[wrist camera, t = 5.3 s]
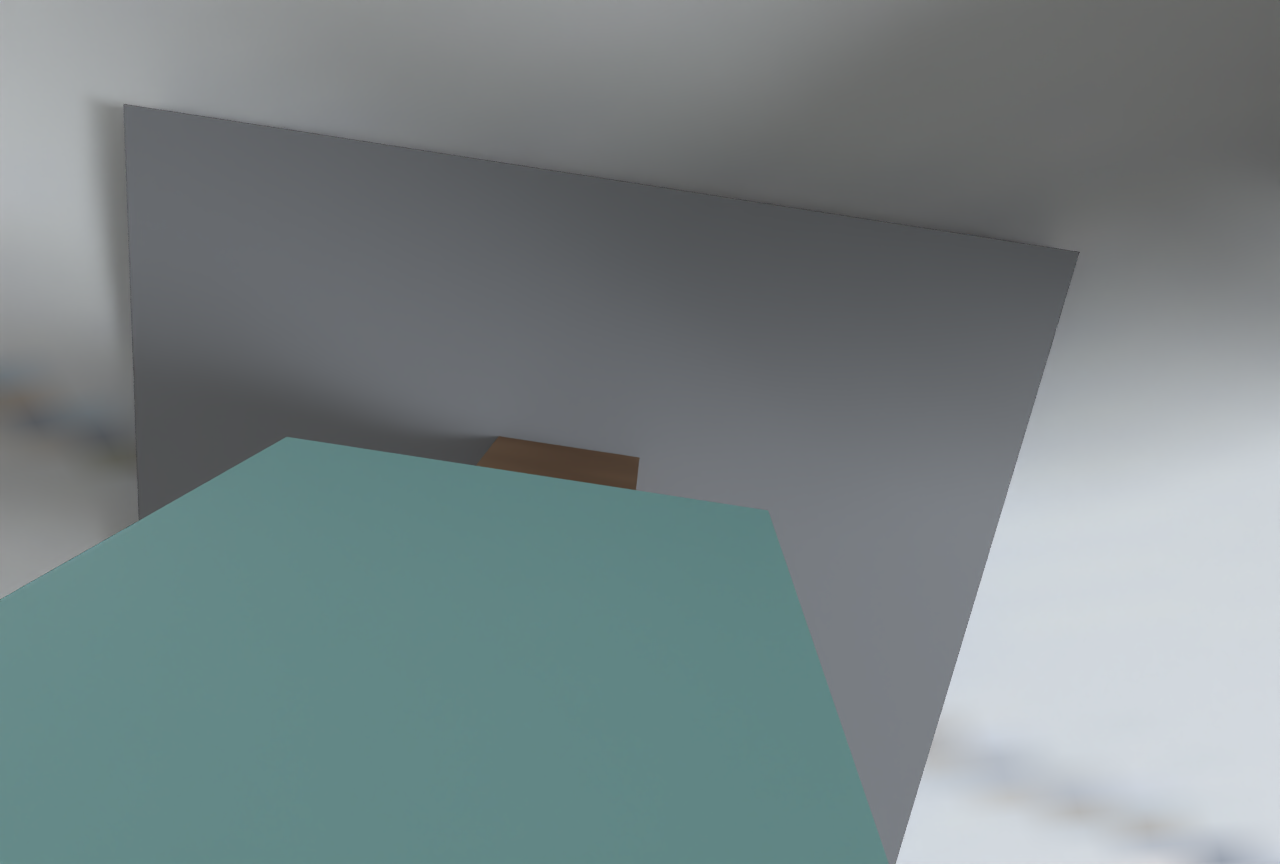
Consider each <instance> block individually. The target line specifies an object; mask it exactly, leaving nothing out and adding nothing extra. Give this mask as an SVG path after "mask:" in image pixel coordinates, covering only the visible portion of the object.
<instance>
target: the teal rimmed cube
mask: <svg viewBox="0 0 1280 864" xmlns="http://www.w3.org/2000/svg"><path fill="white" fill-rule="evenodd" d="M0 864H889V863H888V860H887V857H886V854H885V851H884V848H883V845H882V842H881V839H880V836H879V833H878V830H877V827H876V825H875V822H874V819H873V816H872V813H871V810H870V807H869V804H868V801H867V798H866V795H865V792H864V789H863V787H862V784H861V781H860V778H859V775H858V772H857V769H856V766H855V763H854V760H853V757H852V754H851V751H850V748H849V746H848V743H847V740H846V737H845V734H844V731H843V728H842V725H841V722H840V719H839V716H838V713H837V710H836V708H835V705H834V702H833V699H832V696H831V693H830V690H829V687H828V684H827V681H826V678H825V675H824V672H823V669H822V667H821V664H820V661H819V658H818V655H817V652H816V649H815V646H814V643H813V640H812V637H811V634H810V631H809V629H808V626H807V623H806V620H805V617H804V614H803V611H802V608H801V605H800V602H799V599H798V596H797V593H796V590H795V588H794V585H793V582H792V579H791V576H790V573H789V570H788V567H787V564H786V561H785V558H784V555H783V552H782V550H781V547H780V544H779V541H778V538H777V535H776V532H775V529H774V526H773V523H772V520H771V517H770V514H769V511H768V510H762V509H755V508H749V507H742V506H736V505H729V504H723V503H716V502H709V501H703V500H696V499H690V498H683V497H677V496H670V495H664V494H657V493H651V492H644V491H638V490H631V489H625V488H618V487H611V486H605V485H598V484H592V483H585V482H579V481H572V480H566V479H559V478H553V477H546V476H540V475H533V474H527V473H520V472H513V471H507V470H500V469H494V468H487V467H481V466H474V465H468V464H461V463H455V462H448V461H442V460H435V459H429V458H422V457H415V456H409V455H402V454H396V453H389V452H383V451H376V450H370V449H363V448H357V447H350V446H344V445H337V444H331V443H324V442H317V441H311V440H304V439H298V438H291V437H285V438H284V439H282V440H280V441H278V442H277V443H275V444H273V445H271V446H270V447H268V448H266V449H264V450H263V451H261V452H259V453H257V454H255V455H254V456H252V457H250V458H248V459H247V460H245V461H243V462H241V463H240V464H238V465H236V466H234V467H233V468H231V469H229V470H227V471H226V472H224V473H222V474H220V475H219V476H217V477H215V478H213V479H211V480H210V481H208V482H206V483H204V484H203V485H201V486H199V487H197V488H196V489H194V490H192V491H190V492H189V493H187V494H185V495H183V496H182V497H180V498H178V499H176V500H175V501H173V502H171V503H169V504H167V505H166V506H164V507H162V508H160V509H159V510H157V511H155V512H153V513H152V514H150V515H148V516H146V517H145V518H143V519H141V520H139V521H138V522H136V523H134V524H132V525H131V526H129V527H127V528H125V529H123V530H122V531H120V532H118V533H116V534H115V535H113V536H111V537H109V538H108V539H106V540H104V541H102V542H101V543H99V544H97V545H95V546H94V547H92V548H90V549H88V550H87V551H85V552H83V553H81V554H79V555H78V556H76V557H74V558H72V559H71V560H69V561H67V562H65V563H64V564H62V565H60V566H58V567H57V568H55V569H53V570H51V571H50V572H48V573H46V574H44V575H43V576H41V577H39V578H37V579H35V580H34V581H32V582H30V583H28V584H27V585H25V586H23V587H21V588H20V589H18V590H16V591H14V592H13V593H11V594H9V595H7V596H6V597H4V598H2V599H0Z"/></svg>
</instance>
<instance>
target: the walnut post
mask: <svg viewBox="0 0 1280 864" xmlns="http://www.w3.org/2000/svg"><path fill="white" fill-rule="evenodd" d="M639 459H640V458H639V457H633V456H626V455H620V454H613V453H607V452H600V451H593V450H587V449H580V448H574V447H567V446H561V445H554V444H547V443H541V442H534V441H528V440H521V439H515V438H508V437H501V436H498V438H497V439H496V440H495V442H494V443H493V444H492V445H491V447H490V448H489V449H488V451H487V452H486V453H485V454H484V456H483V457H482V458H481V460H480V461H479V462H478V463H477V465H476V466H481V467H487V468H494V469H500V470H507V471H513V472H520V473H527V474H533V475H540V476H546V477H553V478H559V479H566V480H572V481H579V482H585V483H592V484H598V485H605V486H611V487H618V488H625V489H631V490H636V486H637V477H638V468H639Z"/></svg>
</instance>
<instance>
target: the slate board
mask: <svg viewBox="0 0 1280 864" xmlns="http://www.w3.org/2000/svg"><path fill="white" fill-rule="evenodd" d="M124 127H125V154H126V181H127V208H128V235H129V263H130V290H131V317H132V344H133V371H134V399H135V426H136V453H137V480H138V507H139V520H141V519H143V518H145V517H146V516H148V515H150V514H152V513H153V512H155V511H157V510H159V509H160V508H162V507H164V506H166V505H167V504H169V503H171V502H173V501H175V500H176V499H178V498H180V497H182V496H183V495H185V494H187V493H189V492H190V491H192V490H194V489H196V488H197V487H199V486H201V485H203V484H204V483H206V482H208V481H210V480H211V479H213V478H215V477H217V476H219V475H220V474H222V473H224V472H226V471H227V470H229V469H231V468H233V467H234V466H236V465H238V464H240V463H241V462H243V461H245V460H247V459H248V458H250V457H252V456H254V455H255V454H257V453H259V452H261V451H263V450H264V449H266V448H268V447H270V446H271V445H273V444H275V443H277V442H278V441H280V440H282V439H284V438H285V437H291V438H298V439H304V440H311V441H317V442H324V443H331V444H337V445H344V446H350V447H357V448H363V449H370V450H376V451H383V452H389V453H396V454H402V455H409V456H415V457H422V458H429V459H435V460H442V461H448V462H455V463H461V464H468V465H474V466H476V465H477V463H478V462H479V461H480V460H481V458H482V457H483V456H484V454H485V453H486V452H487V451H488V449H489V448H490V447H491V445H492V444H493V443H494V442H495V440H496V439H497V438H498V436H501V437H508V438H515V439H521V440H528V441H534V442H541V443H547V444H554V445H561V446H567V447H574V448H580V449H587V450H593V451H600V452H607V453H613V454H620V455H626V456H633V457H639V458H640V459H639V468H638V477H637V486H636V490H638V491H644V492H651V493H657V494H664V495H670V496H677V497H683V498H690V499H696V500H703V501H709V502H716V503H723V504H729V505H736V506H742V507H749V508H755V509H762V510H768V511H769V514H770V517H771V520H772V523H773V526H774V529H775V532H776V535H777V538H778V541H779V544H780V547H781V550H782V552H783V555H784V558H785V561H786V564H787V567H788V570H789V573H790V576H791V579H792V582H793V585H794V588H795V590H796V593H797V596H798V599H799V602H800V605H801V608H802V611H803V614H804V617H805V620H806V623H807V626H808V629H809V631H810V634H811V637H812V640H813V643H814V646H815V649H816V652H817V655H818V658H819V661H820V664H821V667H822V669H823V672H824V675H825V678H826V681H827V684H828V687H829V690H830V693H831V696H832V699H833V702H834V705H835V708H836V710H837V713H838V716H839V719H840V722H841V725H842V728H843V731H844V734H845V737H846V740H847V743H848V746H849V748H850V751H851V754H852V757H853V760H854V763H855V766H856V769H857V772H858V775H859V778H860V781H861V784H862V787H863V789H864V792H865V795H866V798H867V801H868V804H869V807H870V810H871V813H872V816H873V819H874V822H875V825H876V827H877V830H878V833H879V836H880V839H881V842H882V845H883V848H884V851H885V854H886V857H887V860H888V863H889V864H896V860H897V857H898V854H899V850H900V847H901V844H902V840H903V837H904V834H905V830H906V827H907V824H908V820H909V817H910V814H911V810H912V807H913V804H914V800H915V797H916V794H917V790H918V787H919V784H920V781H921V777H922V774H923V771H924V767H925V764H926V761H927V757H928V754H929V751H930V747H931V744H932V741H933V737H934V734H935V731H936V727H937V724H938V721H939V717H940V714H941V711H942V707H943V704H944V701H945V697H946V694H947V691H948V687H949V684H950V681H951V677H952V674H953V671H954V667H955V664H956V661H957V657H958V654H959V651H960V647H961V644H962V641H963V637H964V634H965V631H966V628H967V624H968V621H969V618H970V614H971V611H972V608H973V604H974V601H975V598H976V594H977V591H978V588H979V584H980V581H981V578H982V574H983V571H984V568H985V564H986V561H987V558H988V554H989V551H990V548H991V544H992V541H993V538H994V534H995V531H996V528H997V524H998V521H999V518H1000V514H1001V511H1002V508H1003V504H1004V501H1005V498H1006V494H1007V491H1008V488H1009V484H1010V481H1011V478H1012V474H1013V471H1014V468H1015V465H1016V461H1017V458H1018V455H1019V451H1020V448H1021V445H1022V441H1023V438H1024V435H1025V431H1026V428H1027V425H1028V421H1029V418H1030V415H1031V411H1032V408H1033V405H1034V401H1035V398H1036V395H1037V391H1038V388H1039V385H1040V381H1041V378H1042V375H1043V371H1044V368H1045V365H1046V361H1047V358H1048V355H1049V351H1050V348H1051V345H1052V341H1053V338H1054V335H1055V331H1056V328H1057V325H1058V321H1059V318H1060V315H1061V311H1062V308H1063V305H1064V302H1065V298H1066V295H1067V292H1068V288H1069V285H1070V282H1071V278H1072V275H1073V272H1074V268H1075V265H1076V262H1077V258H1078V255H1079V252H1076V251H1070V250H1063V249H1057V248H1050V247H1044V246H1038V245H1031V244H1025V243H1018V242H1012V241H1005V240H999V239H992V238H986V237H979V236H973V235H966V234H960V233H954V232H947V231H941V230H934V229H928V228H921V227H915V226H908V225H902V224H895V223H889V222H882V221H876V220H870V219H863V218H857V217H850V216H844V215H837V214H831V213H824V212H818V211H811V210H805V209H798V208H792V207H786V206H779V205H773V204H766V203H760V202H753V201H747V200H740V199H734V198H727V197H721V196H715V195H708V194H702V193H695V192H689V191H682V190H676V189H669V188H663V187H656V186H650V185H643V184H637V183H631V182H624V181H618V180H611V179H605V178H598V177H592V176H585V175H579V174H572V173H566V172H559V171H553V170H547V169H540V168H534V167H527V166H521V165H514V164H508V163H501V162H495V161H488V160H482V159H475V158H469V157H463V156H456V155H450V154H443V153H437V152H430V151H424V150H417V149H411V148H404V147H398V146H392V145H385V144H379V143H372V142H366V141H359V140H353V139H346V138H340V137H333V136H327V135H320V134H314V133H308V132H301V131H295V130H288V129H282V128H275V127H269V126H262V125H256V124H249V123H243V122H236V121H230V120H224V119H217V118H211V117H204V116H198V115H191V114H185V113H178V112H172V111H165V110H159V109H152V108H146V107H140V106H133V105H127V104H124Z"/></svg>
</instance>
